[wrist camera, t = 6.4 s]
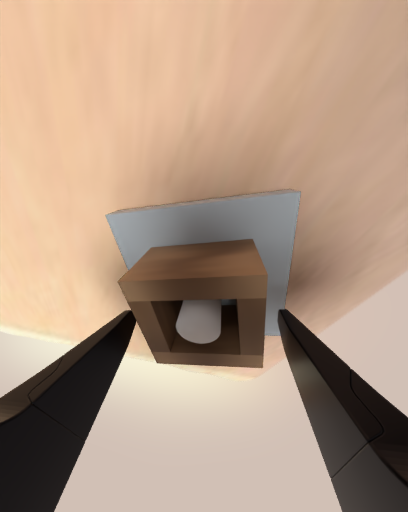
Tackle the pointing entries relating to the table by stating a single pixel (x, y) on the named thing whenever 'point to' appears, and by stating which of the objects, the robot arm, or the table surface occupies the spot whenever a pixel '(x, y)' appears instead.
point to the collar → (201, 288)
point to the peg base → (215, 230)
